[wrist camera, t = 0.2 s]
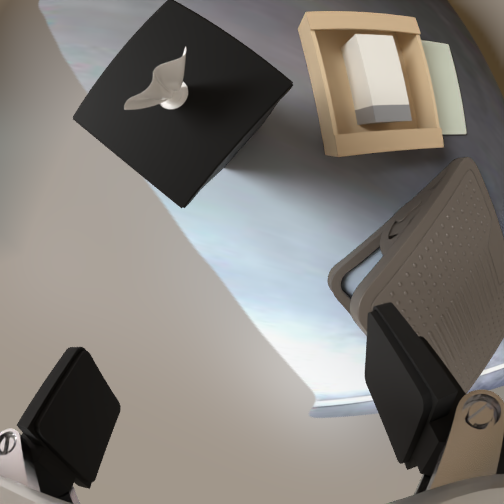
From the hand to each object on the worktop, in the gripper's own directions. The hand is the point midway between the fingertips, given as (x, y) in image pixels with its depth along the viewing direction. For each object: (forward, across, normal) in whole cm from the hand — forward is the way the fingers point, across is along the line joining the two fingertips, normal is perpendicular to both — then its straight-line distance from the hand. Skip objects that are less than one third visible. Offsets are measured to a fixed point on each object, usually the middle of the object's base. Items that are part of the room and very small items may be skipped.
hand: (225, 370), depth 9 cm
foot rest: (+32, -31, +21) cm, 50 cm away
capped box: (+31, -19, -13) cm, 38 cm away
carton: (+31, -19, -13) cm, 39 cm away
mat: (+31, -32, -13) cm, 46 cm away
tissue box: (+32, +1, -9) cm, 33 cm away
